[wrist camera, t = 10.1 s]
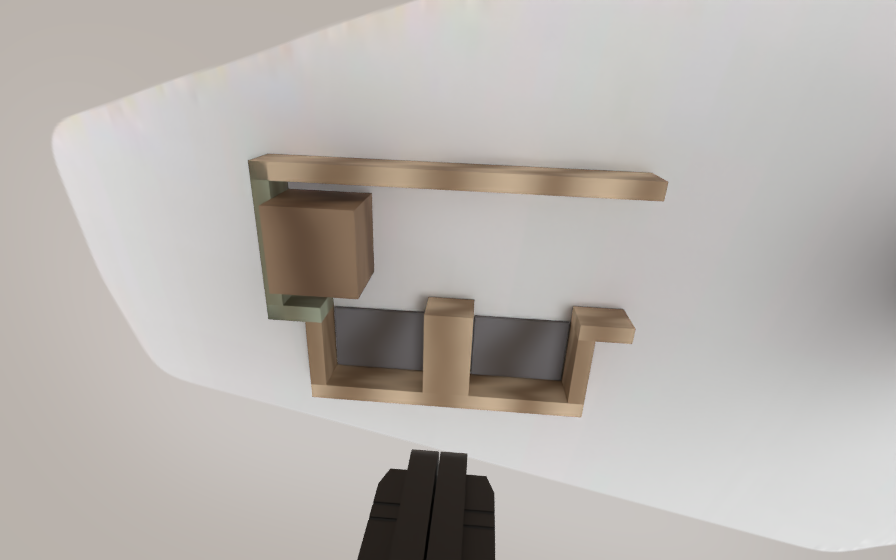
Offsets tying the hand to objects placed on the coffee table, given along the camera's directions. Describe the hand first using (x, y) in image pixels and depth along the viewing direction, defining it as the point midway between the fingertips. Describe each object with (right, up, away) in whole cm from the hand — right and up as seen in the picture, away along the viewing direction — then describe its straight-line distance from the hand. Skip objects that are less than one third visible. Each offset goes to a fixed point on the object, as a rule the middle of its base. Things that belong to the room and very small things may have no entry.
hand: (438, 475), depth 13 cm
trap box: (0, +5, +23) cm, 23 cm away
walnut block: (-8, +9, +22) cm, 25 cm away
